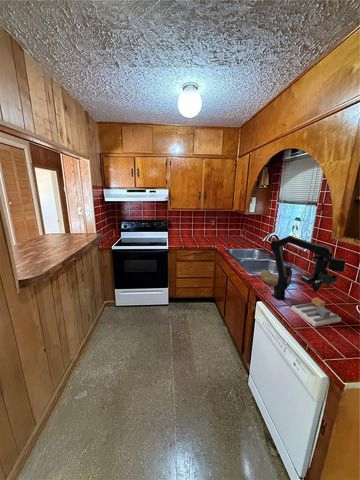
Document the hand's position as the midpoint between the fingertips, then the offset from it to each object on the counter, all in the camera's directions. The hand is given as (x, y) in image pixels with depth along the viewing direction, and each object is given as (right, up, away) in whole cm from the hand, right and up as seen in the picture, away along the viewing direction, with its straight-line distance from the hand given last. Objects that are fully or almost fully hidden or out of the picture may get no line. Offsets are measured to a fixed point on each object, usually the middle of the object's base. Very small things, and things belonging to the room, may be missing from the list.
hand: (315, 291), depth 115 cm
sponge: (-10, -2, +38) cm, 39 cm away
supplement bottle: (+5, -2, +40) cm, 41 cm away
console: (-2, -13, -2) cm, 13 cm away
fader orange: (+3, -9, +2) cm, 10 cm away
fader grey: (-1, -12, -6) cm, 13 cm away
